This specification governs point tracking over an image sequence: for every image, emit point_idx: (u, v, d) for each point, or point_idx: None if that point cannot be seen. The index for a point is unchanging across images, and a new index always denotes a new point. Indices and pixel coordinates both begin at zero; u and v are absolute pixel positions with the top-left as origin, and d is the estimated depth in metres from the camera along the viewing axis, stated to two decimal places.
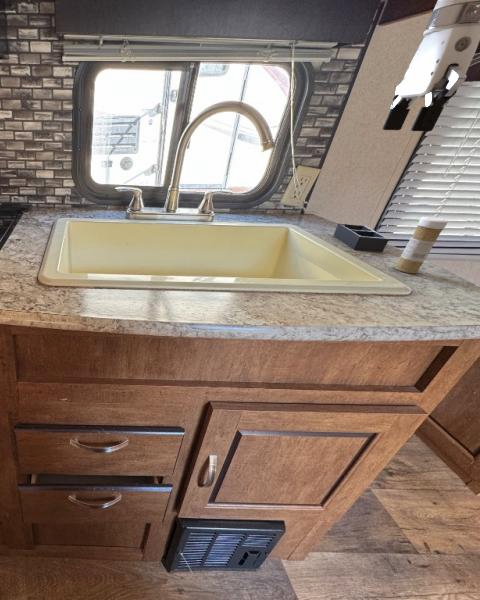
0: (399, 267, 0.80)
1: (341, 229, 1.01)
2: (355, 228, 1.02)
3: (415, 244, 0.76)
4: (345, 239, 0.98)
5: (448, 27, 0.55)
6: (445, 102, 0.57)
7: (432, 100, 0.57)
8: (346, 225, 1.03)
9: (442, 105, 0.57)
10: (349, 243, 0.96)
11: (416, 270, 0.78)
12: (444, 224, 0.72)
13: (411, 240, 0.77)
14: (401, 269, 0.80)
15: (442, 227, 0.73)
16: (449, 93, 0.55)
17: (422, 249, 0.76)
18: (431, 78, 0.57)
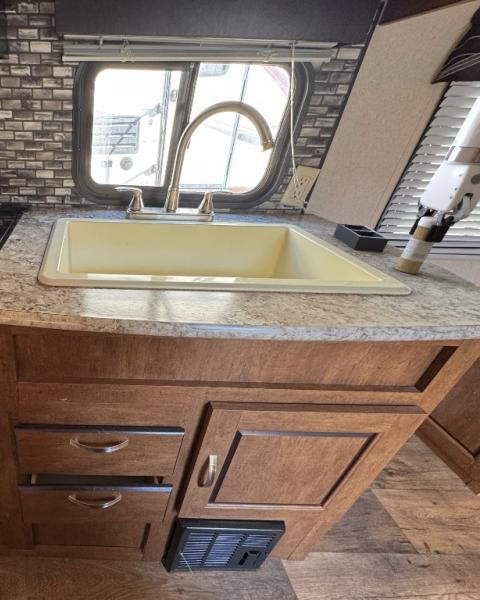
0: (399, 267, 0.80)
1: (341, 229, 1.01)
2: (355, 228, 1.02)
3: (415, 244, 0.76)
4: (345, 239, 0.98)
5: (465, 164, 0.66)
6: (451, 224, 0.70)
7: (440, 223, 0.71)
8: (346, 225, 1.03)
9: (448, 226, 0.71)
10: (349, 243, 0.96)
11: (416, 270, 0.78)
12: None
13: (411, 240, 0.77)
14: (401, 269, 0.80)
15: None
16: (453, 221, 0.69)
17: (422, 249, 0.76)
18: (450, 201, 0.68)
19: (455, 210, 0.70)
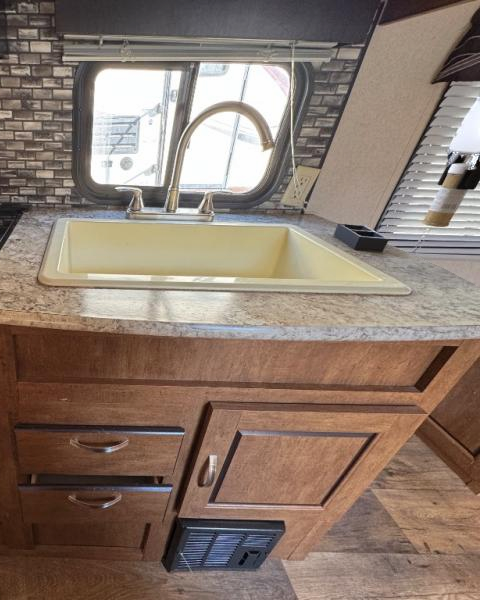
0: (427, 221, 0.74)
1: (341, 229, 1.01)
2: (355, 228, 1.02)
3: (446, 194, 0.70)
4: (345, 239, 0.98)
5: None
6: None
7: (475, 166, 0.65)
8: (346, 225, 1.03)
9: None
10: (349, 243, 0.96)
11: (446, 223, 0.72)
12: None
13: (440, 190, 0.71)
14: (430, 223, 0.74)
15: None
16: None
17: (453, 198, 0.70)
18: None
19: None
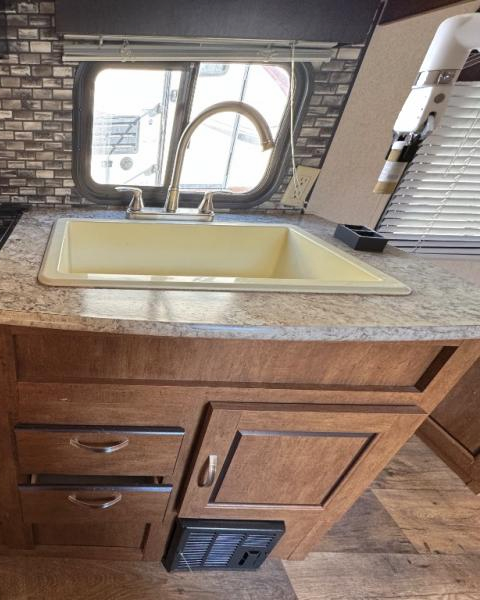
0: (376, 190, 0.90)
1: (341, 229, 1.01)
2: (355, 228, 1.02)
3: (389, 166, 0.86)
4: (345, 239, 0.98)
5: (429, 86, 0.76)
6: (419, 143, 0.80)
7: (410, 142, 0.81)
8: (346, 225, 1.03)
9: (416, 145, 0.81)
10: (349, 243, 0.96)
11: (391, 191, 0.88)
12: None
13: (386, 163, 0.87)
14: (378, 191, 0.90)
15: None
16: (421, 138, 0.79)
17: (395, 170, 0.86)
18: (417, 121, 0.78)
19: (422, 130, 0.80)
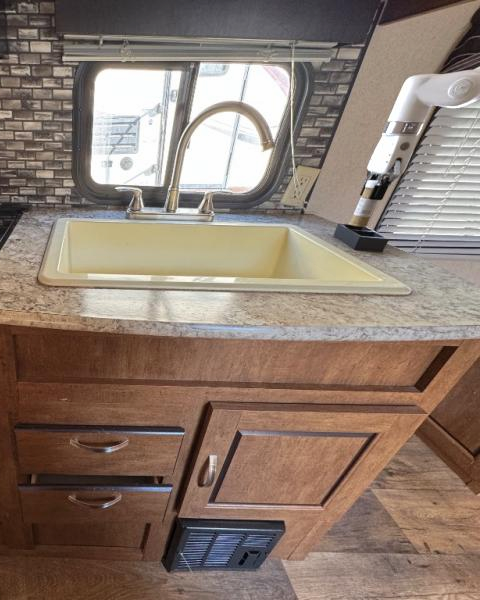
0: (352, 222, 0.99)
1: (341, 229, 1.01)
2: (355, 228, 1.02)
3: (363, 202, 0.95)
4: (345, 239, 0.98)
5: (395, 134, 0.84)
6: (388, 184, 0.89)
7: (380, 183, 0.90)
8: (346, 225, 1.03)
9: (386, 186, 0.90)
10: (349, 243, 0.96)
11: (365, 224, 0.97)
12: None
13: (360, 199, 0.96)
14: (353, 224, 0.98)
15: None
16: (389, 180, 0.88)
17: (368, 206, 0.94)
18: (386, 165, 0.87)
19: (391, 173, 0.89)
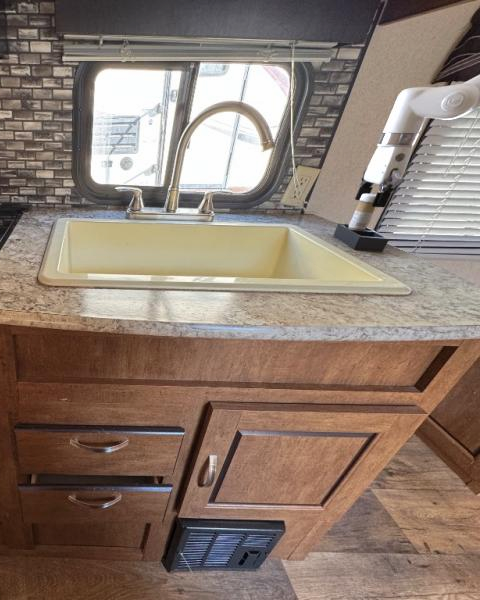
0: None
1: (341, 229, 1.01)
2: None
3: (358, 215, 0.97)
4: (345, 239, 0.98)
5: (391, 146, 0.86)
6: (391, 191, 0.88)
7: (383, 189, 0.88)
8: (346, 225, 1.03)
9: (389, 192, 0.88)
10: (349, 243, 0.96)
11: None
12: None
13: (355, 212, 0.98)
14: None
15: None
16: (393, 187, 0.86)
17: (363, 219, 0.96)
18: (382, 175, 0.88)
19: (390, 181, 0.89)
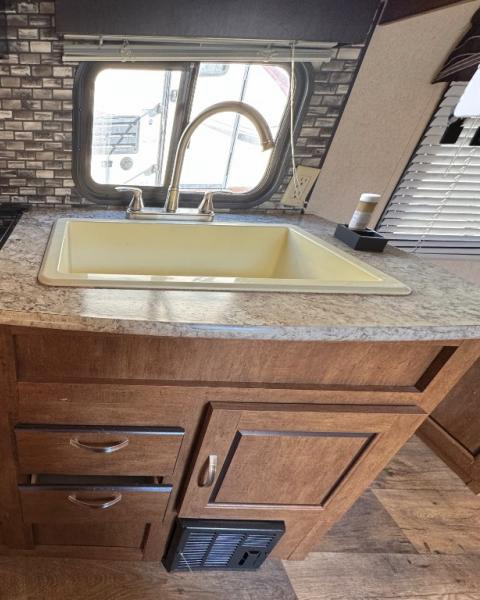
0: None
1: (341, 229, 1.01)
2: None
3: (358, 215, 0.97)
4: (345, 239, 0.98)
5: None
6: None
7: None
8: (346, 225, 1.03)
9: None
10: (349, 243, 0.96)
11: None
12: (378, 198, 0.93)
13: (355, 212, 0.98)
14: None
15: (376, 201, 0.93)
16: None
17: (363, 219, 0.96)
18: None
19: None
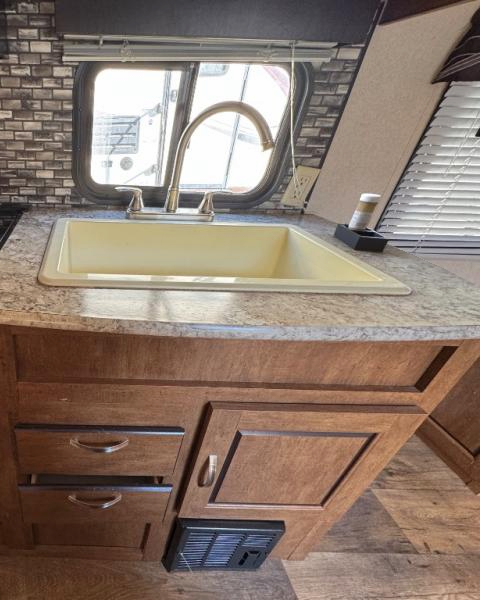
0: None
1: (341, 229, 1.01)
2: None
3: (358, 215, 0.97)
4: (345, 239, 0.98)
5: None
6: None
7: None
8: (346, 225, 1.03)
9: None
10: (349, 243, 0.96)
11: None
12: (378, 198, 0.93)
13: (355, 212, 0.98)
14: None
15: (376, 201, 0.93)
16: None
17: (363, 219, 0.96)
18: None
19: None
